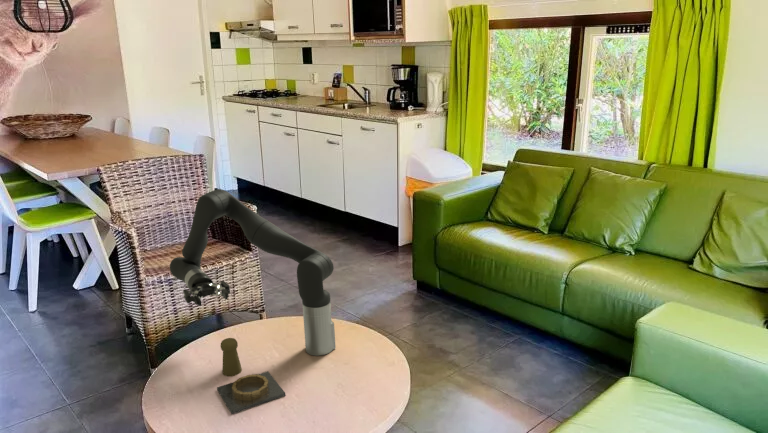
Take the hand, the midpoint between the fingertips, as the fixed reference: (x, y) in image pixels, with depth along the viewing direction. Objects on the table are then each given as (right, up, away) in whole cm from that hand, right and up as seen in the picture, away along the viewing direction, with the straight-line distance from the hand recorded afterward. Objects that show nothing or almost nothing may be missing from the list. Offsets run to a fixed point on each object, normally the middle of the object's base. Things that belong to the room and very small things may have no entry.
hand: (213, 299), depth 186 cm
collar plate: (+16, -25, -15) cm, 33 cm away
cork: (+7, -22, -3) cm, 23 cm away
